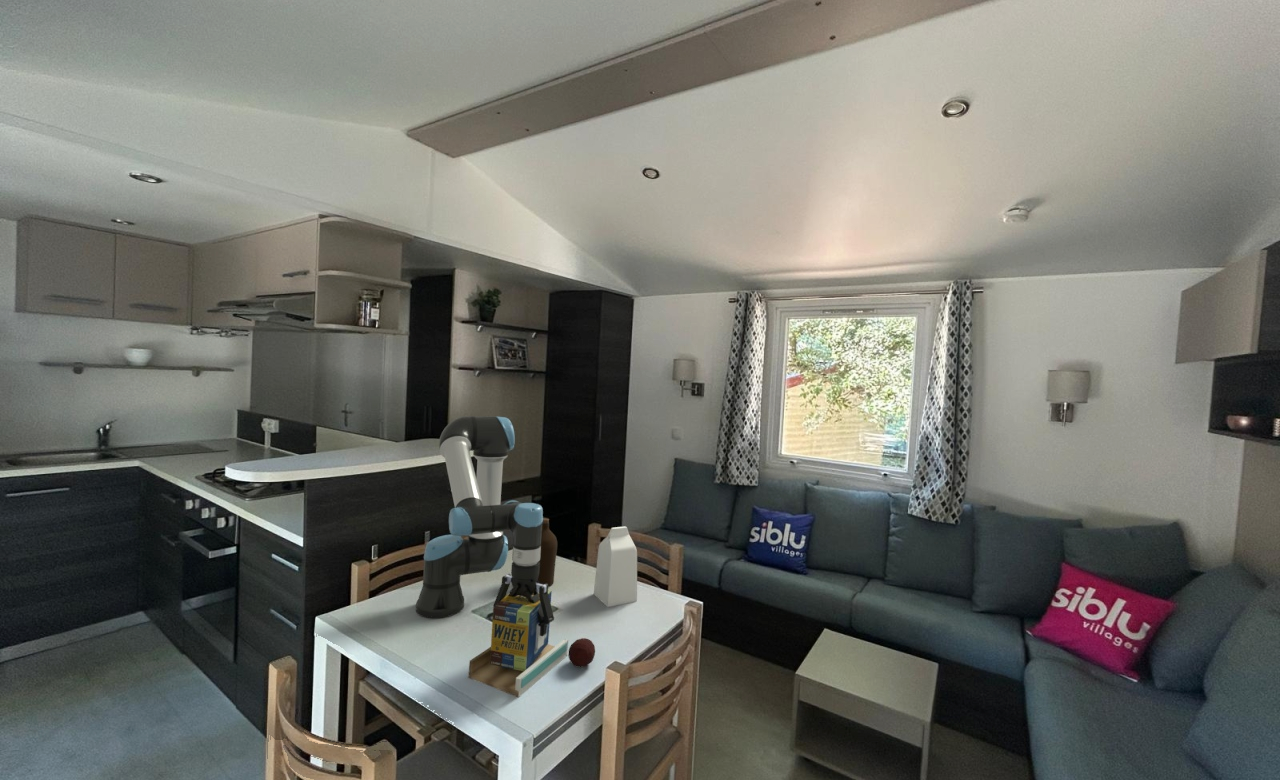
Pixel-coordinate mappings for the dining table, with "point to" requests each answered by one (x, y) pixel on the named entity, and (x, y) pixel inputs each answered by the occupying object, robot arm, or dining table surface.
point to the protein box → (515, 633)
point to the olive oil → (547, 555)
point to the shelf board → (502, 675)
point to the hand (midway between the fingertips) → (521, 640)
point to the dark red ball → (581, 652)
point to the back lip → (479, 660)
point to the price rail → (541, 667)
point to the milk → (616, 569)
